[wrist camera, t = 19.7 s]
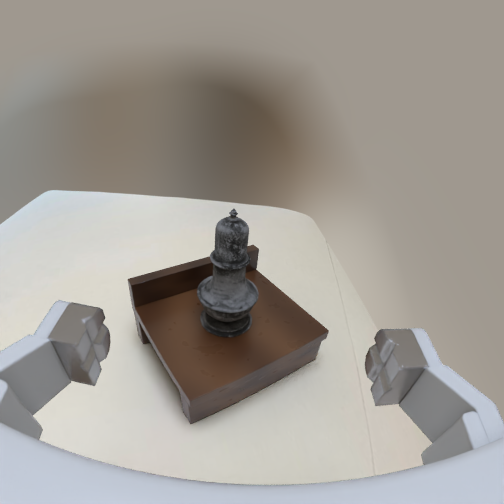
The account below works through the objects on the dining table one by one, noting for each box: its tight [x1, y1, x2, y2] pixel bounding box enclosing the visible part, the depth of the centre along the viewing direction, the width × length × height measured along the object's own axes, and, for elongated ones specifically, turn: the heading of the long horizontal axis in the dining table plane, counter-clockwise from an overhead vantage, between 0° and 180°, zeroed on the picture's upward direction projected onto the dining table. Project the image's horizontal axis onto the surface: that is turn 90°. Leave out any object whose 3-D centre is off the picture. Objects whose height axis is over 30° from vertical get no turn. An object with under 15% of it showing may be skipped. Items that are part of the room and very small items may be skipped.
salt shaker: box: [197, 209, 259, 337], centre depth 28 cm, size 6×6×12 cm
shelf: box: [128, 245, 329, 424], centre depth 32 cm, size 16×14×8 cm
